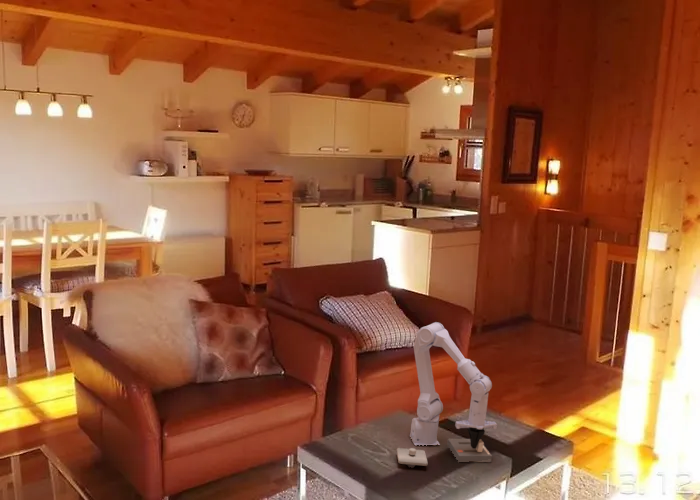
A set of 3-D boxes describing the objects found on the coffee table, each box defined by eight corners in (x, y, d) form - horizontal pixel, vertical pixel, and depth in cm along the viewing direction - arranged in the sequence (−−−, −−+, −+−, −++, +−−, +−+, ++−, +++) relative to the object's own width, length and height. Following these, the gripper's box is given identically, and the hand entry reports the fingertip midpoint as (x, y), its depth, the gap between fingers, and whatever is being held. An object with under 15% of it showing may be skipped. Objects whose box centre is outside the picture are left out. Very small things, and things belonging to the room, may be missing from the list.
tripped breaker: (477, 452, 229) (478, 442, 228) (475, 448, 231) (476, 439, 231) (482, 452, 229) (483, 442, 228) (479, 448, 232) (481, 439, 231)
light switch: (423, 457, 228) (425, 443, 227) (427, 471, 218) (428, 457, 217) (395, 455, 227) (397, 441, 227) (398, 469, 218) (399, 455, 217)
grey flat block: (458, 462, 226) (459, 455, 225) (447, 445, 238) (447, 438, 238) (491, 462, 228) (492, 455, 227) (478, 445, 240) (478, 438, 240)
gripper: (461, 415, 222) (457, 452, 224) (502, 415, 225) (497, 452, 227) (455, 406, 229) (451, 443, 231) (494, 407, 231) (489, 443, 234)
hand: (473, 447), depth 229 cm, fingers closed
